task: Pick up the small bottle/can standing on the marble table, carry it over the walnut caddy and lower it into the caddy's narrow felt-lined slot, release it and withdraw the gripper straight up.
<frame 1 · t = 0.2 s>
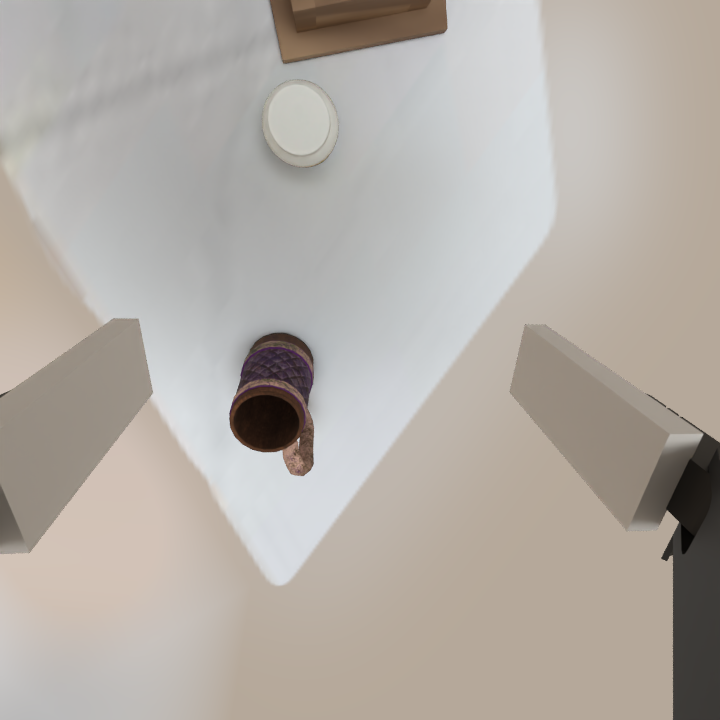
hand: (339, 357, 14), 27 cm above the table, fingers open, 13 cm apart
supplement bottle: (304, 133, 35), on the table
mug: (287, 373, 44), on the table
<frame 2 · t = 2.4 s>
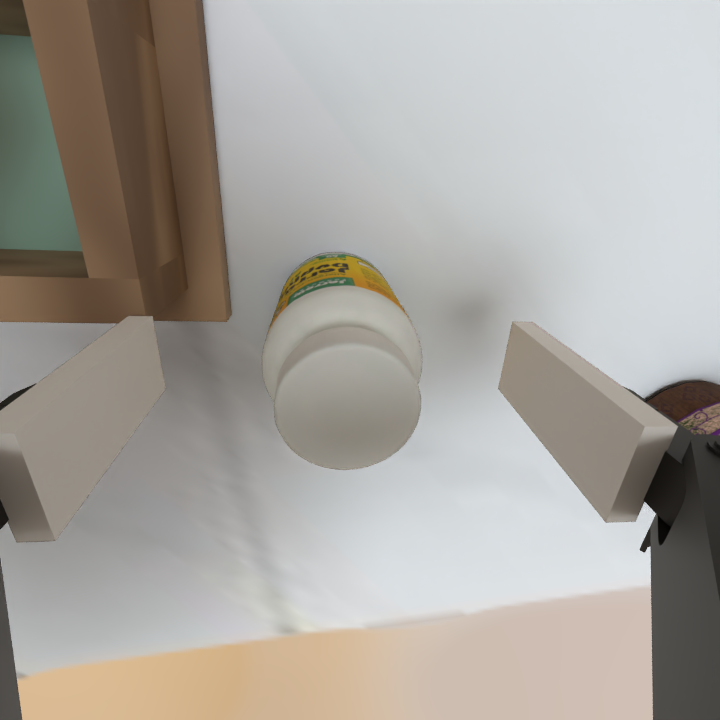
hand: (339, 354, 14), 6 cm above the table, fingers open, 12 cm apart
supplement bottle: (336, 304, 20), on the table
mug: (695, 422, 25), on the table
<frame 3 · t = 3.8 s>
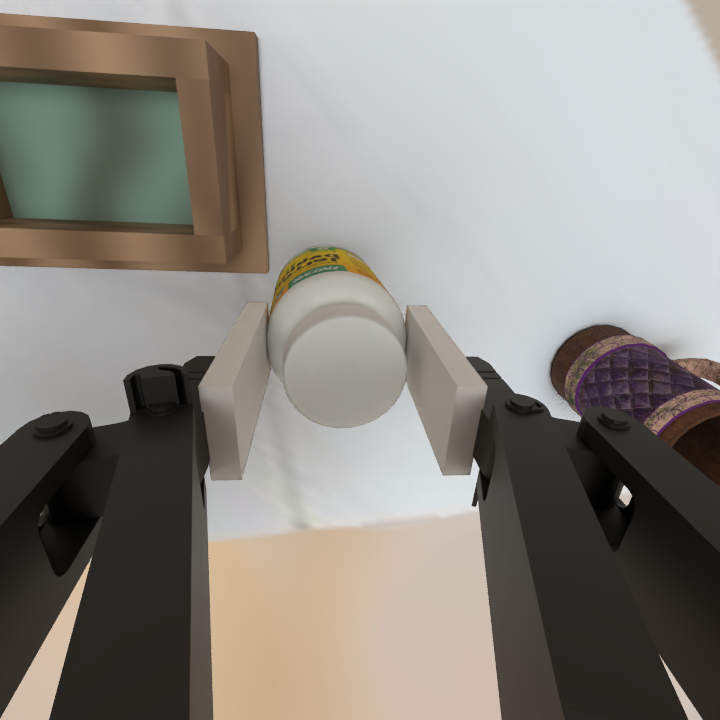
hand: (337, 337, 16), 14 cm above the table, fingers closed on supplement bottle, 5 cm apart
supplement bottle: (326, 294, 22), point 7 cm above the table, touching gripper
mug: (608, 359, 33), on the table
walnut caddy: (114, 159, 25), on the table
when the fingers open (6 cm above the table, at t = 6.9 s): supplement bottle stays where it is, resting on walnut caddy.
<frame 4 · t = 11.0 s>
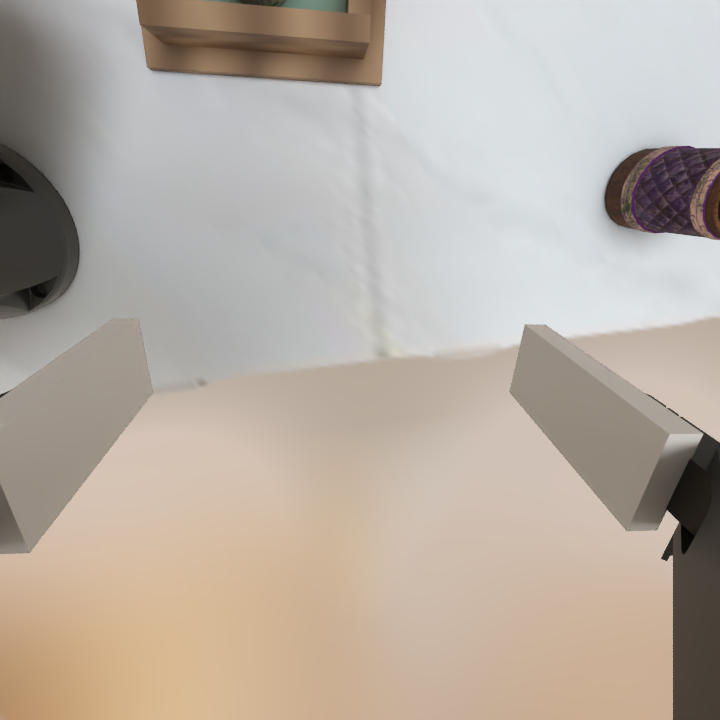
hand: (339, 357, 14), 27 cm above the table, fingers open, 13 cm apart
mug: (653, 186, 39), on the table
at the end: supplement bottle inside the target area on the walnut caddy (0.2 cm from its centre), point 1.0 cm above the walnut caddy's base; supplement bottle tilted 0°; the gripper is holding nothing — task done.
